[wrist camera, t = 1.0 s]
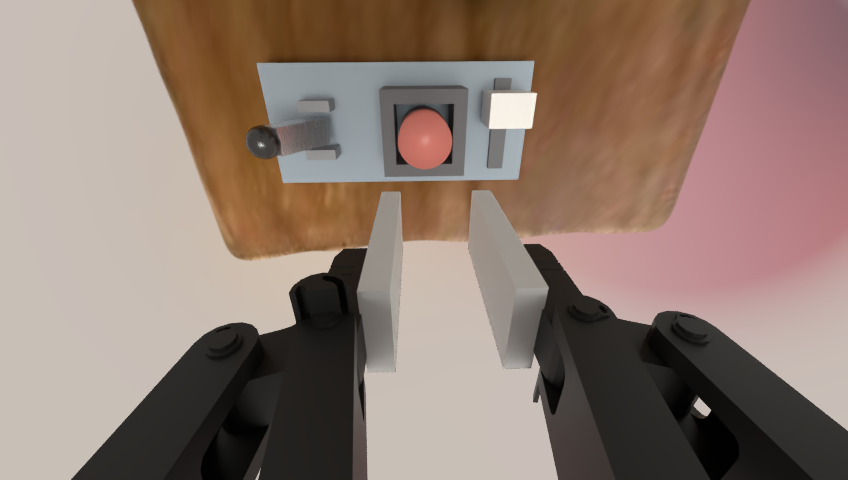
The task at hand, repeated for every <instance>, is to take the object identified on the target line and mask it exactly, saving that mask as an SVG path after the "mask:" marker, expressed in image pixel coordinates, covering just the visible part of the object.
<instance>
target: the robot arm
mask: <svg viewBox="0 0 848 480" xmlns="http://www.w3.org/2000/svg"><path fill="white" fill-rule="evenodd" d="M468 249H469V253H470V256H471V260H472V263H473V267H474V270H475V273H476V277H477V280H478V284H479V287H480V290H481V294H482V297H483V301H484V304H485V308H486V311H487V315H488V318H489V321H490V325H491V328H492V331H493V335H494V339H495V342H496V345H497V349H498V352H499V356H500V359H501V363H502V366H503V369H518V368H519V369H520V368H531V366H532V361H533V357H534V354H535V356H536V358H537V361H538V363H539V366H540V370H539V374H538V378H537V382H536V386H535V390H534V395H533V402H536V403H537V402H538V399H539V395H540V396H541V400H542V405H543V410H544V414H545V419H546V424H547V428H548V433H549V438H550V443H551V447H552V452H553V457H554V461H555V466H556V471H557V475H558V480H848V431H847V430H846V429H845V428H843V427H842V426H841V425H839V424H838V423H837V422H836V421H834V420H833V419H832V418H830V417H829V416H828V415H826V414H825V413H824V412H823V411H822V410H820V409H819V408H818V407H816V406H815V405H814V404H813V403H812V402H810V401H809V400H808V399H806V398H805V397H804V396H803V395H801V394H800V393H799V392H798V391H796V390H795V389H794V388H792V387H791V386H790V385H789V384H787V383H786V382H785V381H784V380H782V379H781V378H780V377H778V376H777V375H776V374H775V373H773V372H772V371H771V370H770V369H768V368H767V367H765V366H764V365H763V364H762V363H761V362H759V361H758V360H757V359H756V358H754V357H753V356H752V355H750V354H749V353H748V352H747V351H745V350H744V349H743V348H742V347H740V346H739V345H738V344H737V343H735V342H734V341H733V340H731V339H730V338H729V337H728V336H726V335H725V334H724V333H722V332H721V331H720V330H719V329H717V328H716V327H714V326H713V325H711V324H710V323H708V322H707V321H705V320H702V319H700V318H698V317H696V316H694V315H690V314H686V313H682V312H678V311H665V312H661V313H658V314H657V316H656V317H655V319H654V321H653V323H652V325H646V324H641V323H636V322H631V321H626V320H622V319H618V318H617V317H616V316H615V314H614V313H613V312H612V310H611V309H610V308H609V307H608V306H607V305H605V304H603V303H602V302H600V301H599V300H596V299H594V298H591V297H589V296H584V295H582V293H581V292H580V291H579V289H578V288H577V287H576V285H575V284H574V282H573V281H572V280H571V278H570V277H569V275H568V274H567V273H566V271H564V270H563V267H562V266H561V265H560V263H558V260H557V259H556V258H555V256H554V255H553V253H552V252H551V251H549V250H548V249H546V248H545V247H543V246H542V245H540V244H522V242H521V241H520V239H519V237H518V235H517V234H516V232H515V230H514V229H513V227H512V225H511V224H510V222H509V220H508V219H507V217H506V215H505V214H504V212H503V210H502V209H501V207H500V205H499V204H498V202H497V200H496V199H495V197H494V195H493V194H492V192H491V190H472V198H471V212H470V227H469V242H468ZM402 256H403V240H402V217H401V194H400V192H382V193H381V197H380V201H379V205H378V209H377V213H376V217H375V221H374V225H373V229H372V233H371V237H370V241H369V245H368V248H359V249H343V250H342V251H341V252H340V253H339V254H338V255H337V256H335V258H334V260H333V262H332V265H331V269H330V270H329V272H328V273H320V274H315V275H311V276H308V277H306V278H304V279H302V280H300V281H299V282H298V283H297V284H295V285H294V286H293V287H292V289H291V290H290V292H289V296H290V300H291V303H292V307H293V311H294V315H295V319H296V324H295V325H293V326H291V327H288V328H285V329H282V330H278V331H274V332H271V333H267V334H263V335H259V333H258V331H257V329H256V328H255V327H254V326H253V325H251V324H247V323H231V324H227V325H224V326H221V327H218V328H215V329H214V330H212V331H210V332H208V333H206V334H204V335H203V336H202V337H201V338H200V339H199V340H197V342H195V343H194V344H193V345H192V346H191V347H190V349H189V350H188V351H187V352H186V353H185V354H184V355H183V356H182V357H181V359H180V360H179V361H178V362H177V363H176V364H175V365H174V366H173V368H172V369H171V370H170V371H169V372H168V373H167V374H166V375H165V377H163V378H162V380H161V381H160V382H159V383H158V384H157V385H156V386H155V387H154V389H153V390H152V391H151V392H150V393H149V394H148V395H147V396H146V398H144V400H143V401H142V402H141V403H140V404H139V405H138V406H137V407H136V409H135V410H134V411H133V412H132V413H131V414H130V415H129V416H128V417H127V418H126V419H125V421H124V422H123V423H122V424H121V425H120V426H119V427H118V428H117V429H116V431H115V432H114V433H113V434H112V435H111V436H110V437H109V438H108V439H107V440H106V442H105V443H104V444H103V445H102V446H101V447H100V448H99V449H98V450H97V452H96V453H95V454H94V455H93V456H92V457H91V458H90V459H89V460H88V462H87V463H86V464H85V465H84V466H83V467H82V468H81V469H80V470H79V471H78V473H77V474H76V475H75V476H74V477H73V478H72V479H71V480H255V479H256V477H257V475H258V473H259V470H260V468H261V470H260V475H259V479H258V480H367V439H366V393H365V382H364V371H365V365H367V372H368V373H372V372H396V356H397V355H396V354H397V338H398V323H399V306H400V290H401V273H402ZM698 398H700V399H701V400H702V401H703V402H704V403H705V404H706V405H707V406H708V407H709V408H710V409H711V412H710V413H709V415H708V416H704V415H702V414H701V413H700V412H699V411H698V410H697V409H696V408H695V407H694V404H695V402H696V401H697V399H698Z"/></svg>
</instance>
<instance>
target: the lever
mask: <svg viewBox="0 0 848 480" xmlns="http://www.w3.org/2000/svg"><path fill="white" fill-rule="evenodd" d="M245 142H246V146H247V148H248V150H249V151H250V152H251V153H252V154H253V155H254V156H256V157H258V158H260V159H272V158H274V157H276V156H282V157H283V156H287V155H290V154H294V153H297V152H301V151H305V150H308V149H312V148H315V147H319V146H322V145H326V144H330V136H329V129H328V122H327V118H318V117H305V118H299V119H293V120H288V121H282V122H276V123H271V124H265V125H259V126H255V127H253V128H251V129H250V130H249V131H248V133H247V135H246V139H245Z"/></svg>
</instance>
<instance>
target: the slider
mask: <svg viewBox="0 0 848 480" xmlns="http://www.w3.org/2000/svg"><path fill="white" fill-rule="evenodd" d="M536 96H537V93H534V92H530V91H526V90H483V102H482V115H481V123H483V124H484V125H485V126H486V127H487V128H488V129H532V123H533V116H534V110H535V103H536Z"/></svg>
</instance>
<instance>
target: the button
mask: <svg viewBox="0 0 848 480" xmlns="http://www.w3.org/2000/svg"><path fill="white" fill-rule="evenodd" d="M451 147H452V135H451V131H450V129H449V127H448V125H447V123H446V122H445V120H444V118H443V116H442V115H441V114H440V113H439V112H438V111H437V110H436V109H434V108H432V107H429V106H418V107H415V108H413V109H411V110H410V111H408V112H407V113H406V115H405V116H404V118H403V120H402V122H401V126H400V131H399V135H398V148H399V151H400V154H401V155H402V157H403V159H404V160H405V161H406V162H407V163H408V164H410V165H411V166H413V167H415V168H418V169H431V168H434V167H437V166H439V165H440V164H441V163H443V162H444V161H445V160H446V158H447V157H448V155H449V153H450V151H451Z"/></svg>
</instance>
